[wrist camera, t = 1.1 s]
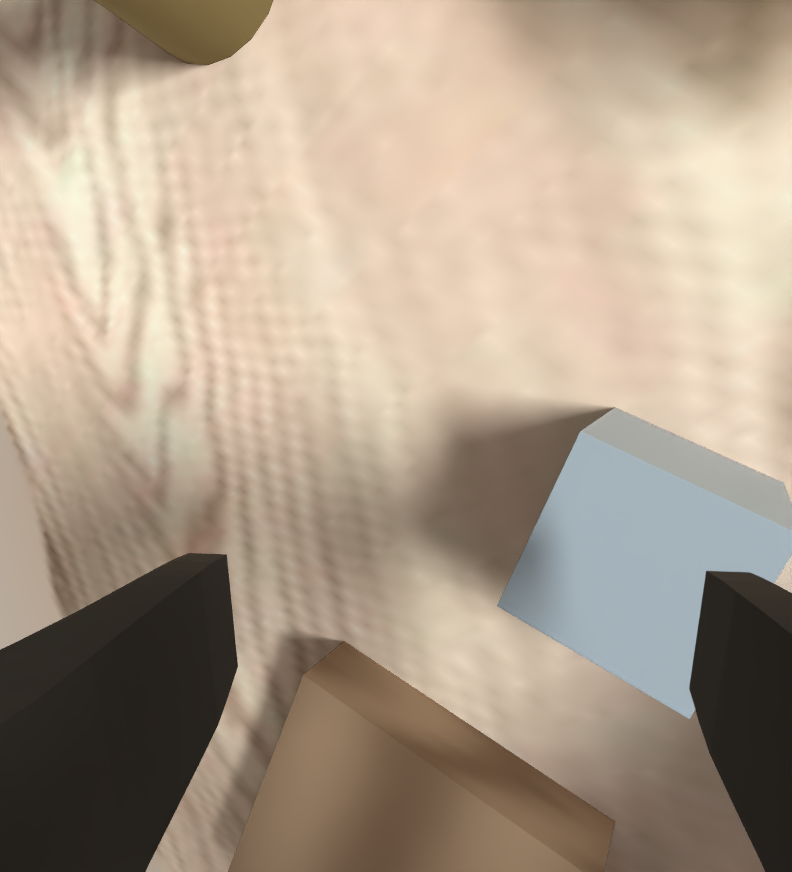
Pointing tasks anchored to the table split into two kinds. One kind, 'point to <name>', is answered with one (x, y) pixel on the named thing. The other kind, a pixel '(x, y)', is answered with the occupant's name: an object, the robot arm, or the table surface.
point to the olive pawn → (193, 25)
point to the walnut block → (405, 789)
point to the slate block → (644, 549)
